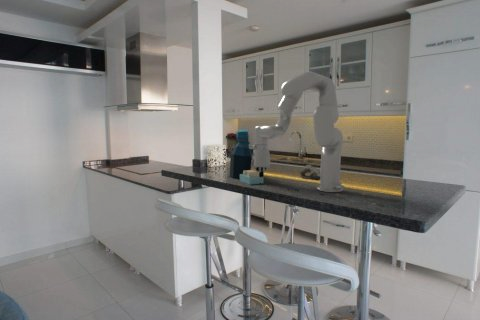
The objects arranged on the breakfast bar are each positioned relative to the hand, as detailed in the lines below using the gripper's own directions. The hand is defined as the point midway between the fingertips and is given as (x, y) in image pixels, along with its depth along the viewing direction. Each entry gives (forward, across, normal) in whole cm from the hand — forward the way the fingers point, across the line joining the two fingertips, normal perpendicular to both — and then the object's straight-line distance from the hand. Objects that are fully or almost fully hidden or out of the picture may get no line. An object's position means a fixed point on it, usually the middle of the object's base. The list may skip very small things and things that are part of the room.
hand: (260, 178), depth 178 cm
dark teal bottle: (+2, -3, +21) cm, 21 cm away
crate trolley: (+2, -6, 0) cm, 6 cm away
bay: (+2, -6, 0) cm, 6 cm away
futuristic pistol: (+2, +33, -5) cm, 34 cm away
